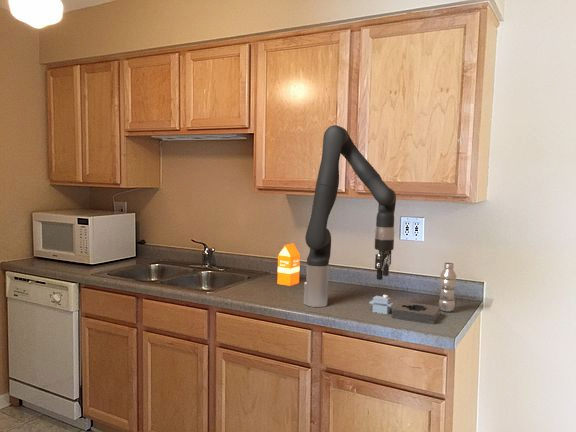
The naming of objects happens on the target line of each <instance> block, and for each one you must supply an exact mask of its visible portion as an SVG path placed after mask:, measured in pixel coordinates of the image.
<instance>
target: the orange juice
mask: <svg viewBox="0 0 576 432" xmlns="http://www.w3.org/2000/svg"><path fill="white" fill-rule="evenodd" d="M300 257H301V255H300V252H299V251H298V249H297V248H296V245H295V243H293V242H292V243H288V244H284V245H283V247H282V248H281V250H280V252H279V253H278V254H277V283H276V284H277V285H281V286H282V285H283V286H287V287H288V286H289V287H291V286H294V285H297V284H299V283H300V267H301V266H300V259H301V258H300Z"/></svg>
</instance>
